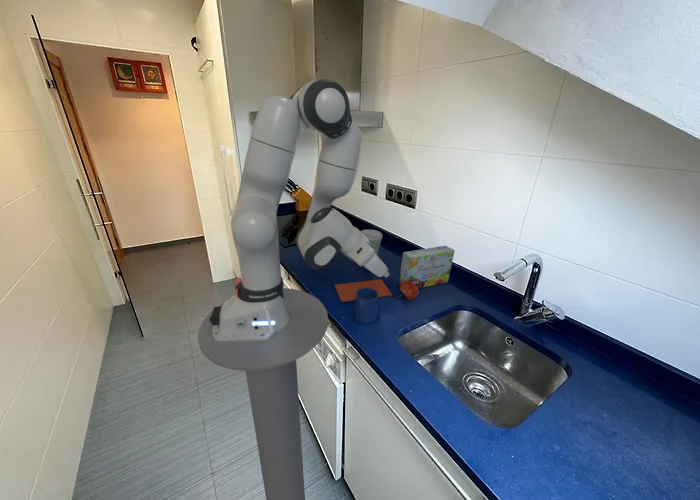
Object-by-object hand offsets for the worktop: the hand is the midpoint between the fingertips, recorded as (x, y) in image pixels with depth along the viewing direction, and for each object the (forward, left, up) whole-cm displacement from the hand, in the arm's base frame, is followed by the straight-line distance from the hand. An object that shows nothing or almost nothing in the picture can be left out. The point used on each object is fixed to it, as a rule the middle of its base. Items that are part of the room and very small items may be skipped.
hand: (380, 268), depth 97 cm
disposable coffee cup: (+8, +34, -14) cm, 38 cm away
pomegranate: (+12, +1, -14) cm, 19 cm away
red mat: (-3, +10, -14) cm, 18 cm away
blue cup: (-7, -6, -14) cm, 17 cm away
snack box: (+23, +9, -14) cm, 29 cm away
